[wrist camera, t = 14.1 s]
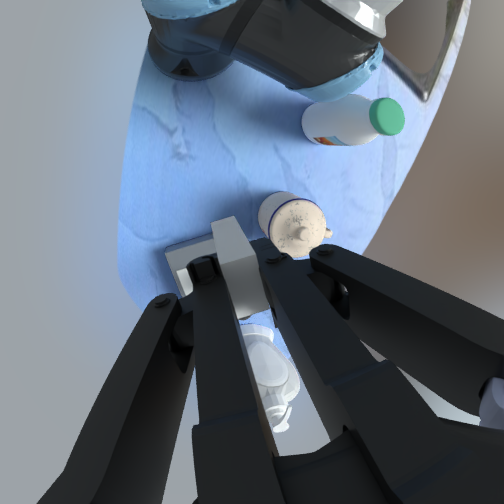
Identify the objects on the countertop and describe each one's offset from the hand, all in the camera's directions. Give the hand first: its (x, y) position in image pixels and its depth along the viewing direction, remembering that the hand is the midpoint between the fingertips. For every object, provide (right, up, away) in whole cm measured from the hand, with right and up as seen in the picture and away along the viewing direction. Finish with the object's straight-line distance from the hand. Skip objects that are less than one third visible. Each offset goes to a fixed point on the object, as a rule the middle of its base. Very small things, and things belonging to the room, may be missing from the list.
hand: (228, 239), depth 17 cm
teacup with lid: (+8, +5, +32) cm, 33 cm away
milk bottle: (+13, +22, +27) cm, 37 cm away
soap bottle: (+1, -16, +39) cm, 42 cm away
